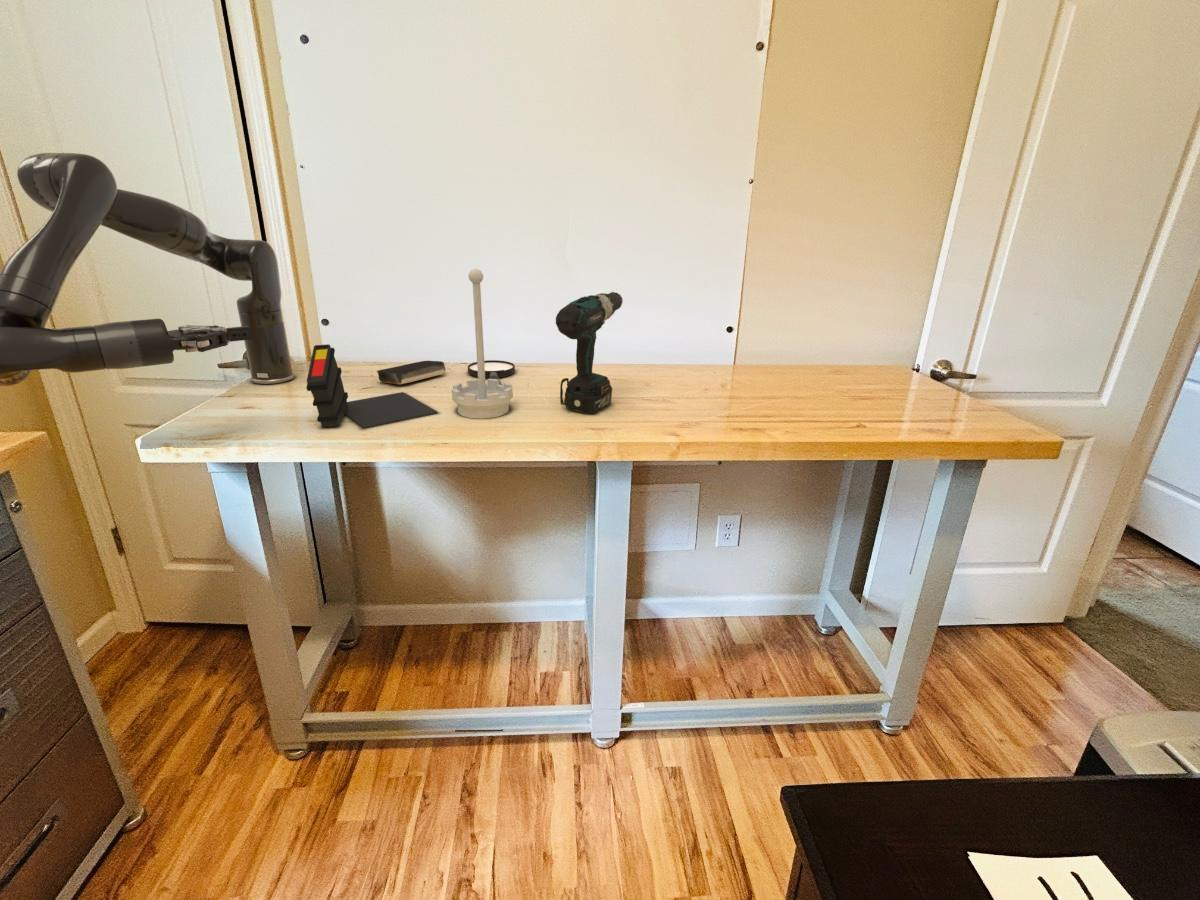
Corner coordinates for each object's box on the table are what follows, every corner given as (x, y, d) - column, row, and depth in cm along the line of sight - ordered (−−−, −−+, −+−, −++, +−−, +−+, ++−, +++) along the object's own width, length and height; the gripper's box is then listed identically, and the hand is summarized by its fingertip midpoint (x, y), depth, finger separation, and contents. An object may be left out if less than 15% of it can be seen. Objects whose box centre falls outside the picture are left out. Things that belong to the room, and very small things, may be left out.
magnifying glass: (471, 392, 145) (470, 384, 144) (466, 367, 166) (466, 360, 165) (523, 390, 148) (523, 381, 147) (512, 365, 169) (512, 358, 168)
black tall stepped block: (352, 396, 133) (332, 343, 121) (345, 441, 125) (323, 388, 113) (334, 397, 132) (312, 344, 121) (326, 442, 124) (302, 390, 113)
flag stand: (514, 418, 128) (508, 272, 117) (451, 420, 126) (439, 272, 115) (512, 400, 140) (508, 265, 129) (455, 401, 138) (445, 265, 127)
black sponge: (396, 389, 146) (395, 374, 145) (375, 382, 151) (373, 368, 149) (449, 376, 158) (448, 362, 157) (428, 370, 163) (427, 357, 162)
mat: (333, 406, 134) (333, 404, 133) (403, 393, 143) (402, 391, 143) (363, 428, 121) (363, 426, 121) (437, 413, 131) (437, 411, 130)
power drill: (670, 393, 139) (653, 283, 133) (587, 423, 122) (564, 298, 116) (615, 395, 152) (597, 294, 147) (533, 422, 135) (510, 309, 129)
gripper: (132, 327, 94) (256, 317, 104) (124, 315, 103) (239, 306, 113) (144, 374, 96) (264, 359, 107) (136, 358, 106) (247, 346, 116)
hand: (251, 332), depth 110 cm, fingers closed
